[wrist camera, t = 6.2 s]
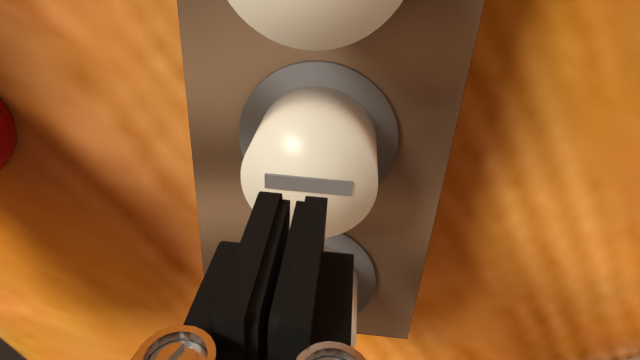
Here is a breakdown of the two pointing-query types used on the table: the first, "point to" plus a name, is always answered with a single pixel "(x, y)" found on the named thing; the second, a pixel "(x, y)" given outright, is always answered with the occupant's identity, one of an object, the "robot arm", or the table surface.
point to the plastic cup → (6, 135)
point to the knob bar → (376, 98)
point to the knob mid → (315, 155)
